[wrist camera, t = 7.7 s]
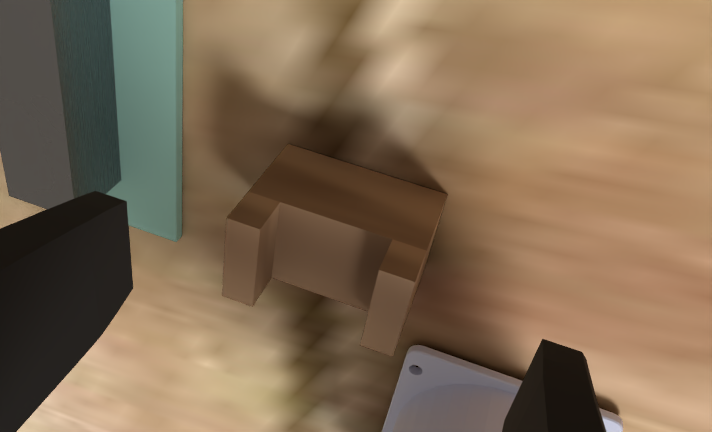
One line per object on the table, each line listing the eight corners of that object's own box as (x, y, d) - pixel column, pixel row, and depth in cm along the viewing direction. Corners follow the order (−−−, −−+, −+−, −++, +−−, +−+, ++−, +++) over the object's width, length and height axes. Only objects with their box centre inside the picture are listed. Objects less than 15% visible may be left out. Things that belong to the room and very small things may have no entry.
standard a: (425, 264, 23) (392, 357, 19) (279, 215, 23) (222, 295, 20) (447, 194, 21) (415, 282, 17) (287, 143, 22) (226, 218, 18)
